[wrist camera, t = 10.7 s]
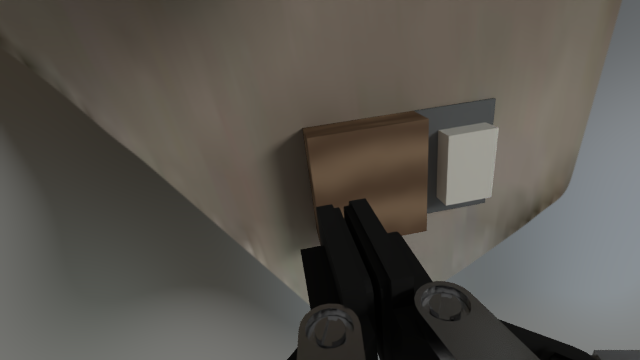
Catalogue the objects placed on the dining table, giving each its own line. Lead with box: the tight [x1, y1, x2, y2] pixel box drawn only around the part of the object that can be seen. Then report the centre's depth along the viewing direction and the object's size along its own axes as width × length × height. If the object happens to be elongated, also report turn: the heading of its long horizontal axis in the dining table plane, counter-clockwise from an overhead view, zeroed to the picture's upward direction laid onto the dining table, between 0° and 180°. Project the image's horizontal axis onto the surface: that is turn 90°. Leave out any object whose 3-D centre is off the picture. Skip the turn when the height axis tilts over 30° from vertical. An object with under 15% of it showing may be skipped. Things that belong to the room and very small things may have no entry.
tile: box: [436, 122, 499, 206], centre depth 41 cm, size 9×6×2 cm, turn 7°
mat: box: [415, 98, 496, 213], centre depth 42 cm, size 14×10×1 cm
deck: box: [303, 111, 429, 244], centre depth 39 cm, size 14×13×4 cm
